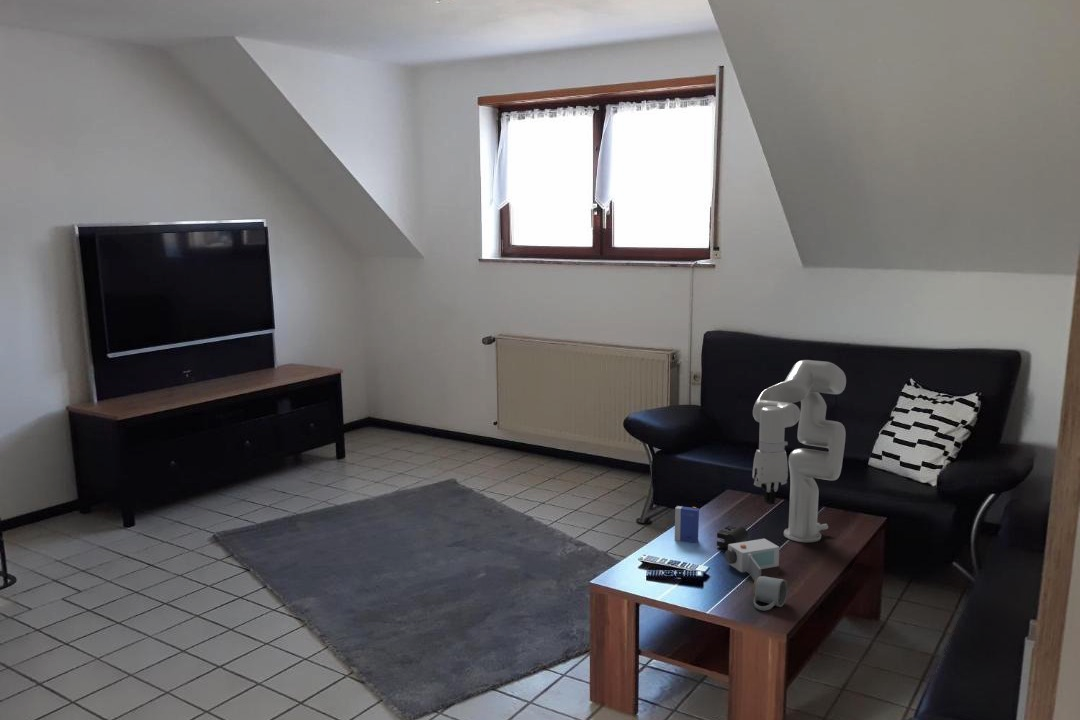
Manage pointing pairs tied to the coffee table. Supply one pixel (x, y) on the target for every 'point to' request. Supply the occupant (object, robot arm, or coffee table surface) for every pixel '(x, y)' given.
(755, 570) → the side door
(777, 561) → the camera body
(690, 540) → the walkman
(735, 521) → the coffee table surface
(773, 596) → the ceramic mug
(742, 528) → the power tool battery
